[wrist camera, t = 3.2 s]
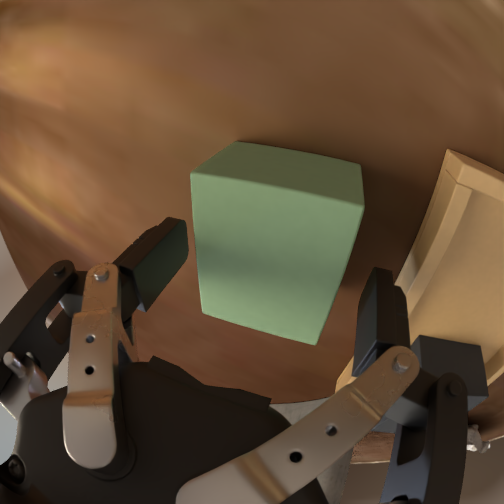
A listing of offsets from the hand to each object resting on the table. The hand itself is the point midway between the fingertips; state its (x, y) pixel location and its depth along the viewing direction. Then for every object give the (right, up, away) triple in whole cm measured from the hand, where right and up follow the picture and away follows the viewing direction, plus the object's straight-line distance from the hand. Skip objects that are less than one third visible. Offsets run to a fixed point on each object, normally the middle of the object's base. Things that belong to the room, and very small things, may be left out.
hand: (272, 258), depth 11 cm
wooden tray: (+12, -4, +2) cm, 13 cm away
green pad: (+1, +2, +2) cm, 3 cm away
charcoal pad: (+12, -8, +4) cm, 15 cm away
